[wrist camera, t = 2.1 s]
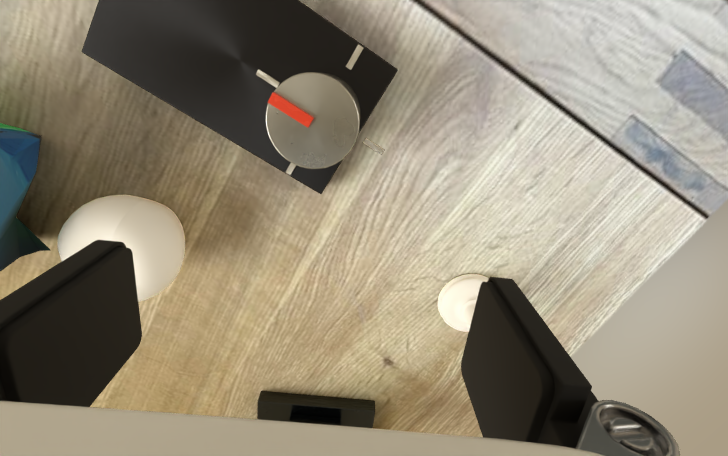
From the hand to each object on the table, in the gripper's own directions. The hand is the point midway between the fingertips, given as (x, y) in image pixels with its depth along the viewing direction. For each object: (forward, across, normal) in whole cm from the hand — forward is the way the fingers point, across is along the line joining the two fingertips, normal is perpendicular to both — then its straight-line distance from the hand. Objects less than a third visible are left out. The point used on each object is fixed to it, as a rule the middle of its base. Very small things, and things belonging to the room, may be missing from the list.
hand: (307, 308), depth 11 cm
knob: (+16, +1, -3) cm, 16 cm away
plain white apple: (+18, +13, +6) cm, 23 cm away
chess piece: (+18, -11, +10) cm, 23 cm away
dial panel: (+18, +6, -6) cm, 20 cm away
